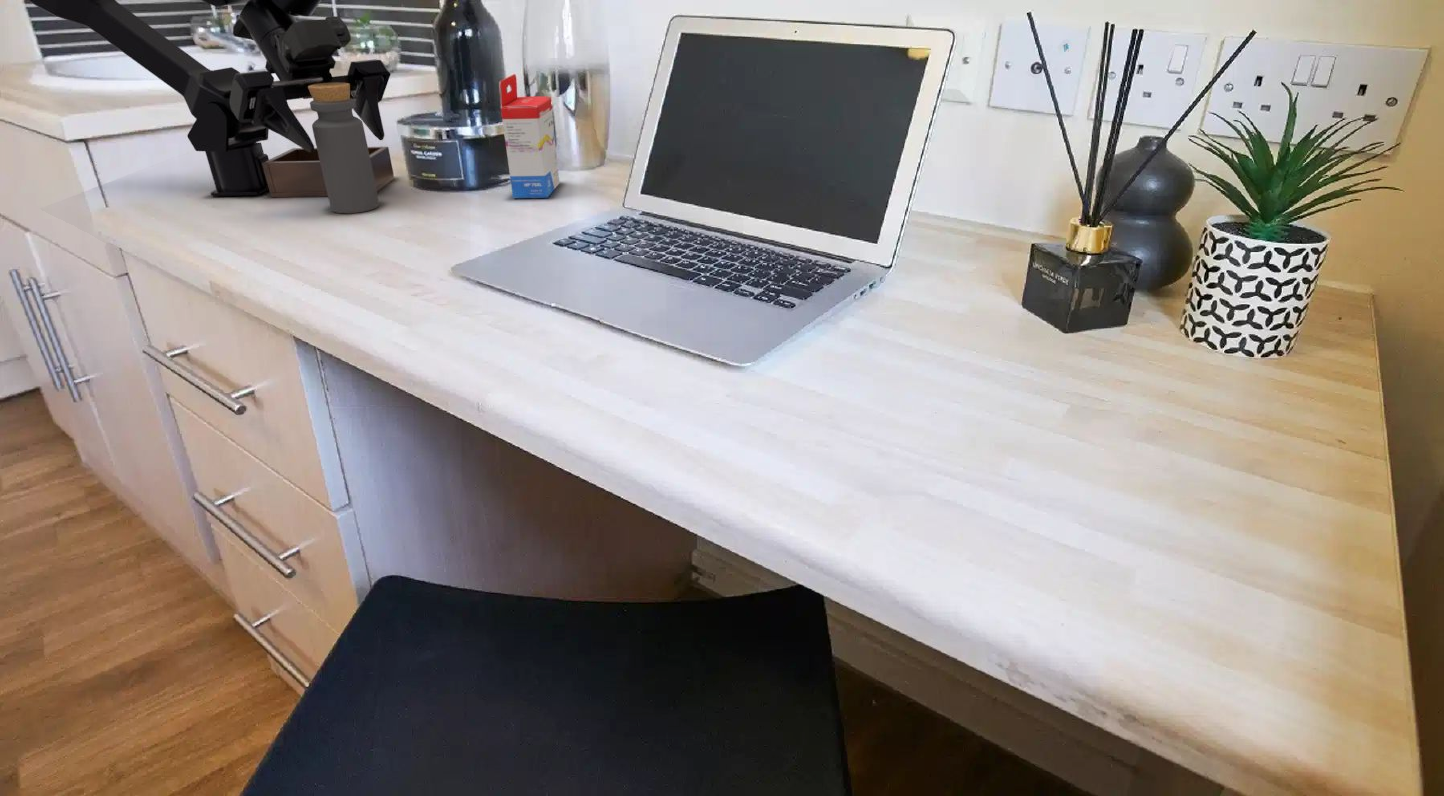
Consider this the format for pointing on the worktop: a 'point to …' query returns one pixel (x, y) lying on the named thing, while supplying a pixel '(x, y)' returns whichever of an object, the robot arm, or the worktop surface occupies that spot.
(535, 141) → the ink box
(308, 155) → the crate
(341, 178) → the bottle
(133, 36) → the robot arm
